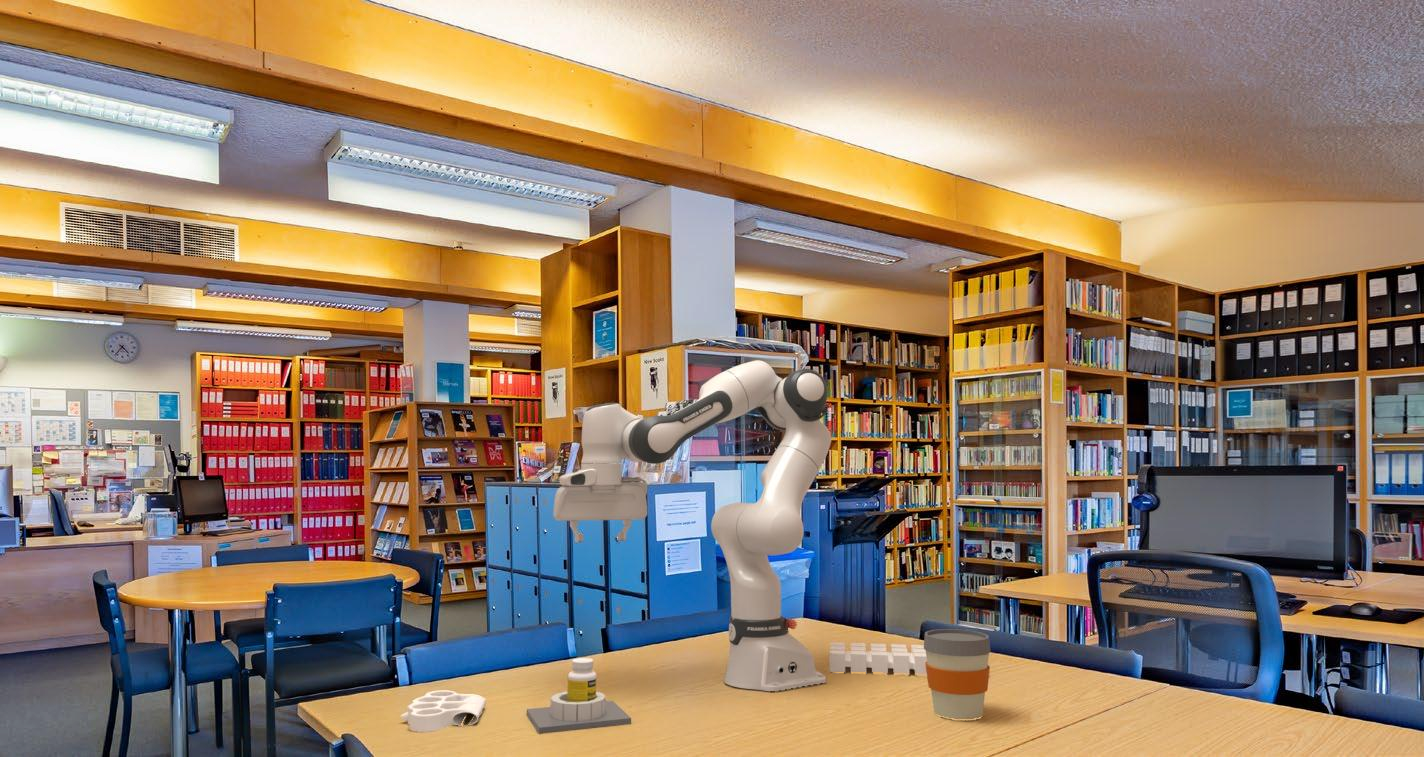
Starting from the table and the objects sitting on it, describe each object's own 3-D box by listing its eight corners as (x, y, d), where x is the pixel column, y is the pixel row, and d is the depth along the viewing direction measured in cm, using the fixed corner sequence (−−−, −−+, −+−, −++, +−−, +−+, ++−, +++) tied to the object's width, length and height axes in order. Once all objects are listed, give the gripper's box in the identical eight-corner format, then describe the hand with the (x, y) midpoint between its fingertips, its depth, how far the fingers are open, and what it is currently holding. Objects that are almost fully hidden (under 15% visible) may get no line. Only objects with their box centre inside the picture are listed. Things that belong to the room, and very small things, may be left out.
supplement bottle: (590, 718, 166) (591, 663, 167) (562, 716, 168) (563, 662, 168) (599, 710, 172) (600, 657, 173) (572, 708, 173) (573, 656, 174)
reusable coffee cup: (993, 709, 177) (991, 631, 178) (991, 726, 165) (989, 643, 166) (928, 703, 181) (926, 627, 182) (921, 720, 169) (919, 638, 170)
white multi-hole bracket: (474, 733, 162) (390, 735, 160) (487, 706, 180) (412, 708, 178) (475, 714, 162) (391, 716, 161) (488, 688, 180) (413, 690, 178)
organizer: (830, 642, 220) (978, 646, 215) (830, 662, 220) (978, 667, 214) (829, 653, 207) (986, 658, 202) (829, 674, 207) (987, 680, 201)
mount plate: (612, 705, 178) (613, 685, 179) (631, 723, 166) (631, 701, 167) (526, 714, 172) (527, 693, 173) (539, 733, 160) (539, 710, 161)
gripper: (643, 476, 202) (642, 539, 201) (552, 477, 195) (551, 541, 193) (651, 477, 196) (650, 541, 195) (558, 477, 189) (557, 544, 187)
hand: (600, 541), depth 194 cm, fingers open, 8 cm apart
